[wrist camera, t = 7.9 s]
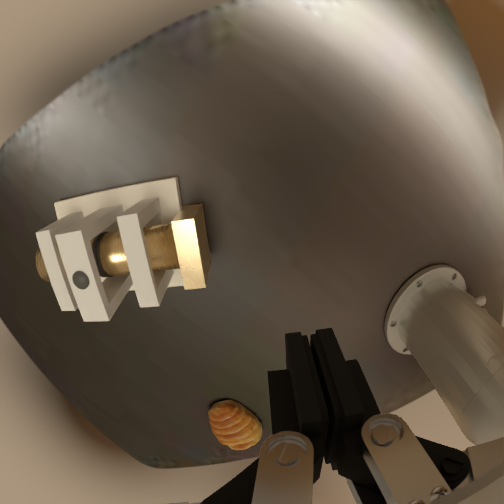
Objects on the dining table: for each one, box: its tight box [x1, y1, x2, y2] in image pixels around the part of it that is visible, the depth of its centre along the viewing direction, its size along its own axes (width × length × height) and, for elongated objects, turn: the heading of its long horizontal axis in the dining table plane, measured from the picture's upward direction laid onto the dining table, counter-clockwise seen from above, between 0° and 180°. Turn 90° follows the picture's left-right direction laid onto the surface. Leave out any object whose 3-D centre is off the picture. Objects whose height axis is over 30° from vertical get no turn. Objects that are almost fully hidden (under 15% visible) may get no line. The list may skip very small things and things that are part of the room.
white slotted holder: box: [36, 177, 184, 322], centre depth 22 cm, size 13×10×9 cm
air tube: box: [36, 203, 211, 290], centre depth 22 cm, size 16×5×5 cm, turn 96°
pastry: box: [208, 400, 262, 450], centre depth 35 cm, size 9×7×4 cm
